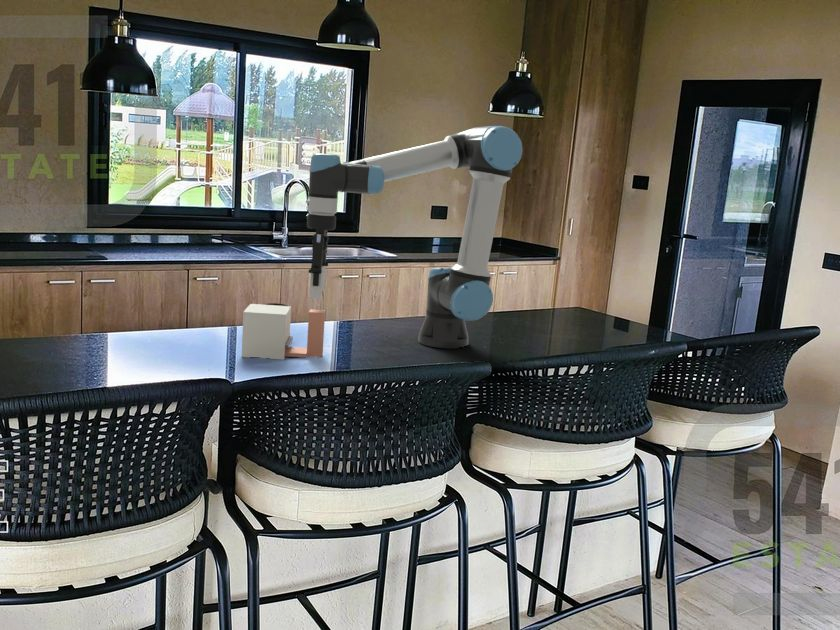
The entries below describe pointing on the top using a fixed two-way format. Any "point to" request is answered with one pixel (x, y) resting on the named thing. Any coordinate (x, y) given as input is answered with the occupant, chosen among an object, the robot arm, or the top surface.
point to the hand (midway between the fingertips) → (317, 294)
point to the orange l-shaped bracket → (311, 337)
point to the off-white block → (266, 331)
